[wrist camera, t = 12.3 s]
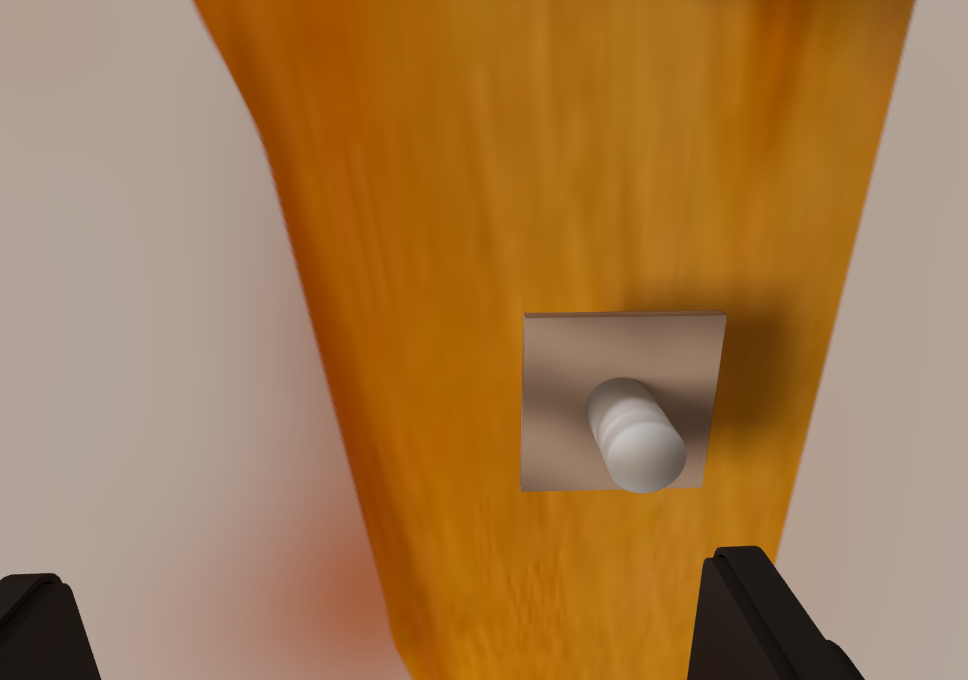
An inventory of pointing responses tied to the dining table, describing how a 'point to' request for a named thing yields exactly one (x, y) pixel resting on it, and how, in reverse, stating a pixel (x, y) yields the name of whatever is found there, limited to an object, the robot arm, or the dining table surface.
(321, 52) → the dining table surface
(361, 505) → the dining table surface
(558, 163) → the dining table surface
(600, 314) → the lid
